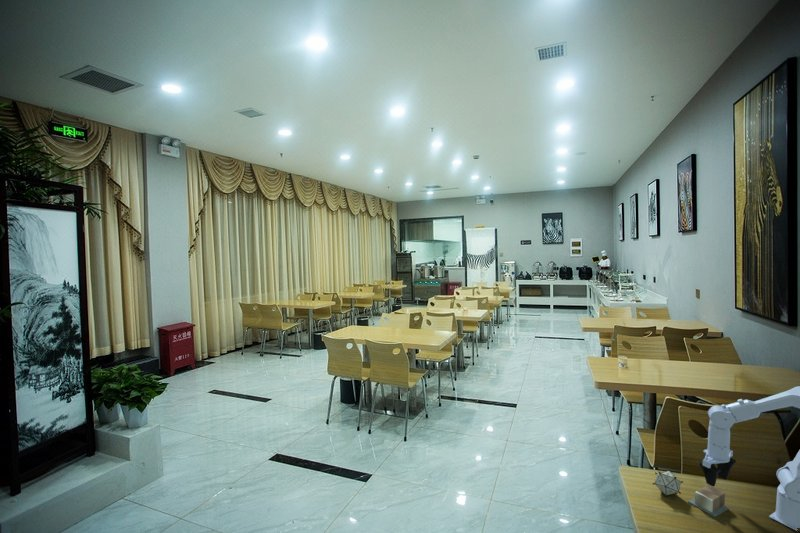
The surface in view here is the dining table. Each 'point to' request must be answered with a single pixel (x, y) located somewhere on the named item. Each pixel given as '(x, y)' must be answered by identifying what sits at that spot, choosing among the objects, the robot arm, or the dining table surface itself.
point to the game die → (667, 483)
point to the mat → (714, 513)
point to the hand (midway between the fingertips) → (716, 481)
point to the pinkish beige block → (709, 498)
